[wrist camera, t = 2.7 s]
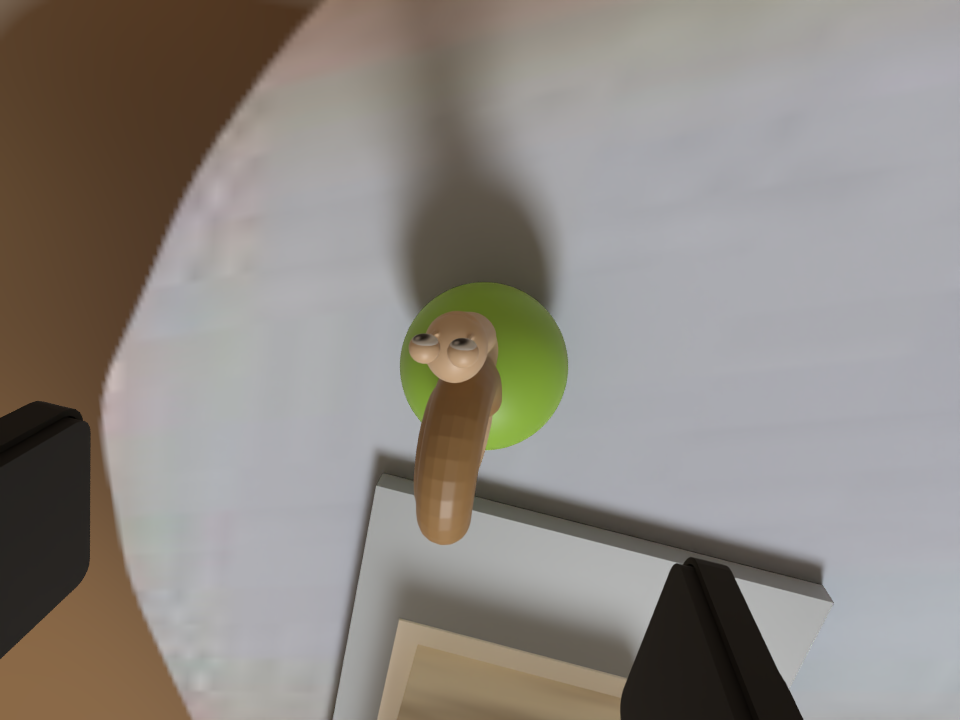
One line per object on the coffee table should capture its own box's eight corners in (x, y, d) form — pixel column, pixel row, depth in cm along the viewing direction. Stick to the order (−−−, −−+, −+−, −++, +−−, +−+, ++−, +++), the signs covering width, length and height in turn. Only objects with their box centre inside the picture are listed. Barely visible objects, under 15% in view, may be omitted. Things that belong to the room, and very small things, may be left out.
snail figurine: (580, 248, 21) (608, 358, 10) (556, 418, 23) (557, 670, 12) (425, 232, 22) (282, 319, 10) (415, 400, 24) (288, 626, 12)
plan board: (382, 473, 25) (375, 487, 24) (823, 585, 24) (835, 604, 23) (325, 778, 31) (317, 800, 30) (676, 875, 30) (680, 900, 29)
